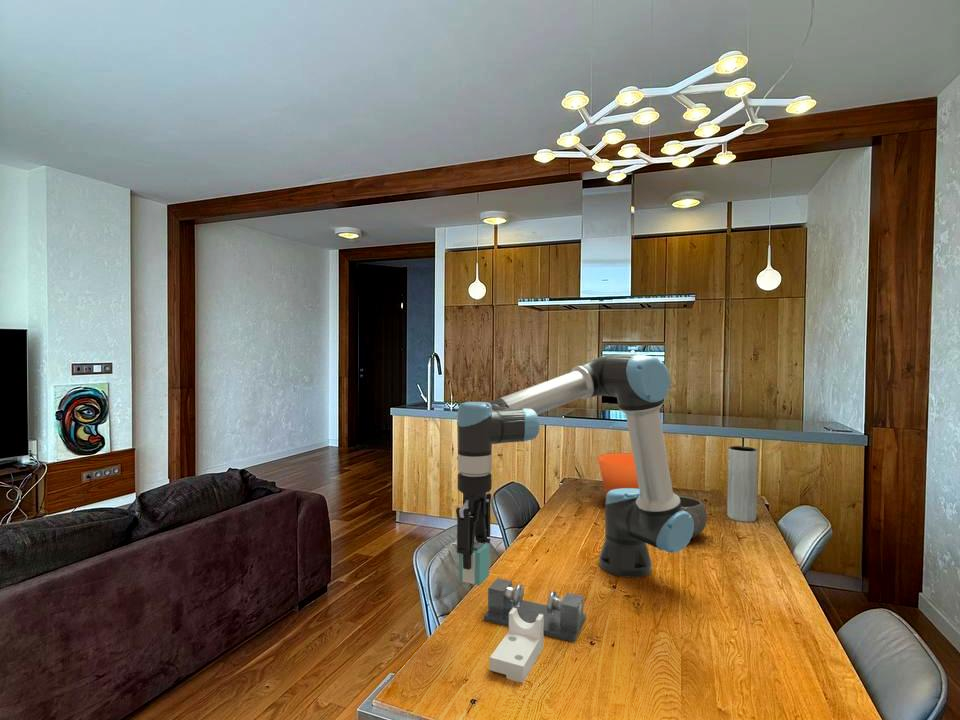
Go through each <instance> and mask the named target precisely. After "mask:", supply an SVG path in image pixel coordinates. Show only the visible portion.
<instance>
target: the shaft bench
mask: <svg viewBox="0 0 960 720" xmlns="http://www.w3.org/2000/svg"><path fill="white" fill-rule="evenodd" d="M524 589H525V588H524V585H523V584H521V583H517V584H516V585H515V587H513V581H512V580H509V579H503V578H499V577H497V578H496V579H495V580H494V581H493V582H492V583H491V585H489V586H488V588H487V610H486V612H485V613H484V614H483V621H485V622H489V623H493V622H494V623H493V624H497V623H498V624H497V625H501V624H502V626H505V627H506V626H507V627H509V612H510V611H511V610H512V608H517V612H518V615H519V617H520V618H521V619H522V620H523V621H525V622H527V623H534V622H536V618H537V617H538V615H539V614H543V615H544V629H543V636H547V637H551V638H555V639H559V640H562V641H567V642H571V643H576V641H577V638H578V636H579V634H580V632H581V630H582V627H583V625H584V623H585V622H586V619H587V617H586V616H587V614H586V613H584V604H585V603H584V599H585V597H584V595H582V594H576V593H572V592H571V593H570V592H566V594H565V595H564V597H560V596H558V593H557V591H555V590H554V591H553V590H551V591H550V592H549V594H548V597H547V603H546V604H542V603H538V602H535V601H534V602H533V601H529V600H525V599H524V594H525V591H524Z"/></svg>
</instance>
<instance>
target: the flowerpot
mask: <svg viewBox="0 0 960 720" xmlns="http://www.w3.org/2000/svg"><path fill="white" fill-rule="evenodd" d="M597 461H598V465H599V471H600V474H601V478H602V483H603V489H604V492H605V496H606V495H607V493H608V492H609V491H610V490H614V489H621V488H635V489H639V485H638V480H637V474H636V468H635V463H634V457H633V452H632V453H631V452H608V453H603V454H599V455H598V456H597Z"/></svg>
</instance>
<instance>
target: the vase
mask: <svg viewBox="0 0 960 720" xmlns="http://www.w3.org/2000/svg"><path fill="white" fill-rule="evenodd" d="M757 489H758V449H757V448H755V447H751V446H750V447H749V446H743V445H742V446H741V445H740V446H739V445H733V446H729V447H728V452H727V501H726V502H727V503H726V505H727V507H726V509H727V510H726V514H727V518H728V519H731V520H733V521H735V522H736V521H737V522H742V523H751V522H752V523H753V522H755V521H756V520H757V502H758V501H757V500H758V499H757V498H758V497H757V496H758V495H757V494H758V490H757Z"/></svg>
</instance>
